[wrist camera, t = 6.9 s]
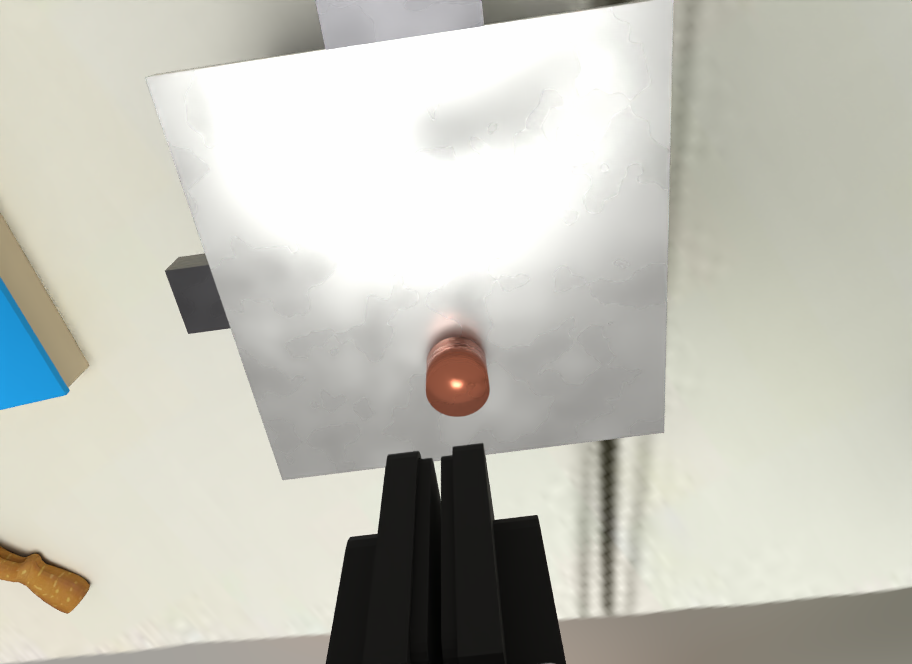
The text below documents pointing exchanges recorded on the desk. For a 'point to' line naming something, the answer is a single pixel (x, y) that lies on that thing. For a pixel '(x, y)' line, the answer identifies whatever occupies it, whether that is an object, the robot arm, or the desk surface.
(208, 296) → the grey open box
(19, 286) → the book
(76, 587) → the orange and grey rod
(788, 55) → the desk surface
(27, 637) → the desk surface
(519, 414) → the cooker lid
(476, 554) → the robot arm
